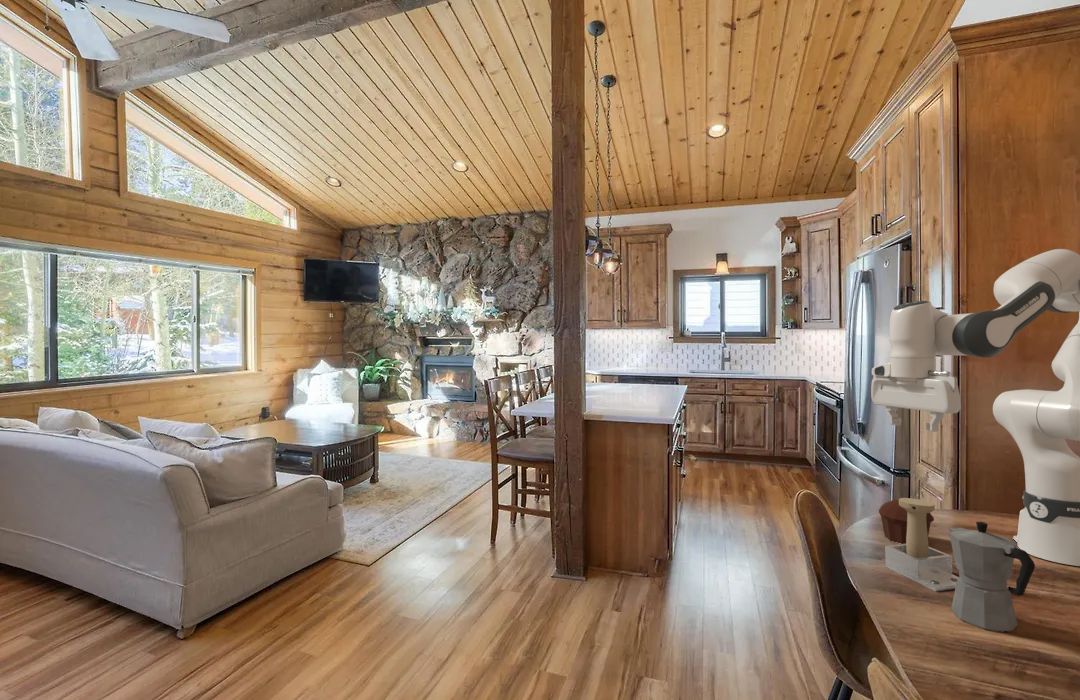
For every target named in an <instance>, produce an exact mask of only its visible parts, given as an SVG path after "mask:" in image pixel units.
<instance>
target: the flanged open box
mask: <svg viewBox="0 0 1080 700" xmlns="http://www.w3.org/2000/svg"><path fill="white" fill-rule="evenodd" d="M928 548H929V553H928V557H924V558H915V557H913V556H910V555H908V554H907V549H906V544H898V543H897V544H890V545H885V546H884V552H885V553H884V555H885V556H884V557H885V558H884V559H885V562H884V565H885V568H887V569H889V570H891V571H893V572H895V573H898V574H899V575H901V576H904V577H905V578H908V579H910V580H911V581H914V582H915V583H917V584H919V585H921V586H924V587H926V588H927V589H929V590H932V591H934V592H942V591H949V590H955V588H956V583H957V579H958V578H959V576H957V575H954V574H953V556H952V555H951V554H949V553H946V552H943V551H940V550H938V549H936V548H933V547H930V546H929V547H928Z"/></svg>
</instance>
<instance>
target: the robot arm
mask: <svg viewBox="0 0 1080 700" xmlns="http://www.w3.org/2000/svg"><path fill="white" fill-rule="evenodd" d="M993 295H994V298H995V300H996V301H997V303H998V304H999V305H1000V306H999V307H997V308H995V309H994V310H984V311H977V312H976V311H975V312H970V313H958V314H948V313H947V312H943V311H941V310H939V309H937V308H936V307H935V306H933V305H932V302H930V301H928V300H918V301H912V302H905V303H901V304H898V305H896V306H894V307H893V308H892V311H891V313H890V315H889V324H888V329H889V330H888V337H889V339H888V341H889V343H890V347H891V348H890V349H891V350H890V352H889V361H888V362H886V363H883V364H880V365H877V366H874V367H873V368H871V375H872V376H873V378H872V379H871V384H870V385H871V388H870V389H871V390H870V396H871V400H872V403H873V404H874V405H877V406H883V407H885V412H886V413H887V415H888V417H889V423H890V425H891V426H896V427H897V426H901V425H902V418H901V417H899V416H898V413H897V411H898V408H900V409H907V410H914V411H916V410H917V411H922V412H924V411H925V412H929V415H930V417H931V419H930V422H926V424H925V426H926V428H925V429H926V431H927V432H933V433H935V432H936V433H937V432H939V428H940V427H939V424H940V423H941V422H942V420H943V419H944V417H945V415H944V414H957V413H959V411H960V410H962V404H961V396H960V391H959V385H958V378H957V377H956V375H954V374H953V373H952V372H950V371H946V370H944V371H939V370H937V368H936V367H937V358H936V357H937V356H938V355H939V356H969V357H978V358H992V357H995V356H997V355H999V354H1001V353H1003V352H1004V350H1005V349H1006V348H1007V347H1008V346H1009V345H1010V343H1011V342H1012V341H1013V339H1014V338H1015V337H1016V336H1017V334H1019V333H1020V332H1021V331H1022V330H1024V328H1026V327H1028V325H1030V324H1032V322H1035V320H1036V319H1037V318H1039V317H1041V315H1043V314H1044V313H1045V312H1046V311H1048V312H1051V313H1055V314H1057V313H1060V314H1061V313H1062V314H1069V313H1072V312H1078V313H1079V315H1078V316H1079V317H1078V321H1077V323H1076V324H1075V325H1074V327H1073V328H1072V329H1071V331H1070V332H1069V334H1068V335H1067V337H1066V338H1065V340H1064V341H1063V343H1062V345H1061V347H1060V348H1059V349H1058V351H1057V352H1056V354H1055V356H1054V358H1053V360H1052V362H1051V369H1052V372H1053V375H1055V377H1056V378H1057V379H1059V380H1060V381H1062V382H1063V383H1064V384H1063V387H1062V388H1060V389H1059V390H1056V391H1055V390H1042V389H1028V388H1027V389H1025V388H1024V389H1015V390H1008V391H1004V392H1003V391H1002V392H1001V393H1000V394H999V395H998V396H997V397H996V398H995V400H994V401H993V404H992V414H993V416H994V419H995V421H996V422H997V423H998V424H999V425H1001V426H1002V427H1003V428H1004V429H1005V430H1007V432H1008V433H1009V434H1010V436H1012V438H1013V440H1014V441H1015V442H1016V444H1017V447H1018V448H1019V451H1020V454H1021V455H1022V460H1023V466H1024V479H1025V489H1024V490H1023V491H1022V492H1023V494H1022V504H1023V506H1024V508H1022V509H1021V510H1020V511H1019V517H1018V526H1017V527H1018V528H1017V535H1013V537H1012V540H1013V539H1014V540H1015V541H1016V542H1017V543H1016V542H1015V541H1014V540H1013V541H1014V542H1015V543H1016V544H1017V546H1018V547H1019V548H1020V549H1021V550H1024V551H1026V552H1027V553H1028V555H1029V556H1033V557H1036V558H1039V559H1041V560H1042V559H1043V560H1046V561H1050V562H1053V563H1059V564H1063V565H1068V566H1069V565H1070V566H1076V567H1080V456H1079V455H1077V454H1076V453H1075V452H1074V451H1072V449H1071V448H1070V446H1068V443H1067V441H1066V440H1072V441H1079V442H1080V254H1079V253H1077V252H1075V251H1073V250H1070V249H1067V248H1056V249H1054V248H1053V249H1051V250H1048V251H1045V252H1041V253H1040V254H1037V255H1034V256H1032V257H1030V258H1027V259H1024V260H1023V261H1022V262H1020V263H1017V264H1016V265H1014V266H1013V267H1011V268H1009V269H1008V270H1007V271H1004V273H1002V274H1001V275H1000V276H998V278H997V279H996V280H995V282H994V284H993ZM936 355H937V356H936ZM1017 546H1016V547H1017ZM1018 547H1017V548H1018Z"/></svg>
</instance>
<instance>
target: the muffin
mask: <svg viewBox="0 0 1080 700" xmlns="http://www.w3.org/2000/svg"><path fill="white" fill-rule="evenodd" d="M878 514H879V515H880V518H881V523H882V524H881V525H882V529H883V534H884V538H886V537H887V538H888V539H887V538H886V539H887V540H889V542H892V541H894V542H893V543H895V542H898V543H901V544H906V536H907V516H908V515H907V510H905V509H904V508H902V507H901V506H900V505H899V499H892V500H889V501H887V502H884V503H883V504H882V505H881V506H880V508H879V509H878ZM934 521H935V518H934V516H933V515H932V512H930V513H927V514H926V523H927V535H928V536H929V533H930V528H931V523H933V522H934ZM898 543H897V544H898Z"/></svg>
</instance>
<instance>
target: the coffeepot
mask: <svg viewBox="0 0 1080 700" xmlns="http://www.w3.org/2000/svg"><path fill="white" fill-rule="evenodd" d="M975 524H976V528H977V530H975V529H966V528H963V527H956V526H953V527H948V528H947V529H948V531H949V533H948V534H949V539H950V544H951V548H952V554H953V558H954V564H955V568H956V569H957V570H958V571H959V572H958V573H959V574H958V575H959V576H958V577H959V578H958V579H957V583H956V588H955V589H954V594H953V599H952V604H951V608H950V609H951V611H952V612H953V614H954V616H956V617H957V618H958V619H959V618H960V619H959V620H961V621H963V622H964V621H965V623H966V622H967V624H969V625H970V626H973V625H974V626H973V627H977V628H980V629H983V630H988V631H991V632H992V631H993V632H998V631H1001V633H1005V632H1004V631H1007V632H1006V633H1008V632H1013V631H1014V630H1015V629H1016V627H1018V626H1019V625H1018V624H1019V623H1018V620H1017V615H1016V612H1015V607H1014V602H1013V600H1012V599H1013V598H1012V594H1013V595H1015V596H1018V597H1022V596H1024V595H1025V592H1026V589H1027V588H1028V584H1029V582H1030V580H1031V577H1032V575H1033V573H1034V571H1035V569H1036V564H1035V562H1034V560H1033V558H1031V555H1030V554H1028V553H1027V552H1026V551H1024V550H1021V549H1019V548H1018V547H1017V543H1016V542H1015V541H1014V540H1013V541H1012V540H1011V539H1009V538H1008V537H1006V536H1004V535H999V534H995V533H992V532H988V531H987V529H988V525H989V524H988V523H987V522H984V521H976V522H975ZM1015 559H1016V560H1019V562H1020V563H1021V566H1020V569H1019V575H1018V577H1017V578H1016V582H1015V583H1016V585H1015V586H1016V587H1012V586H1008V581H1009V580H1010V579H1011V577H1012V572H1013V566H1014V561H1015ZM1011 593H1012V594H1011Z"/></svg>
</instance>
